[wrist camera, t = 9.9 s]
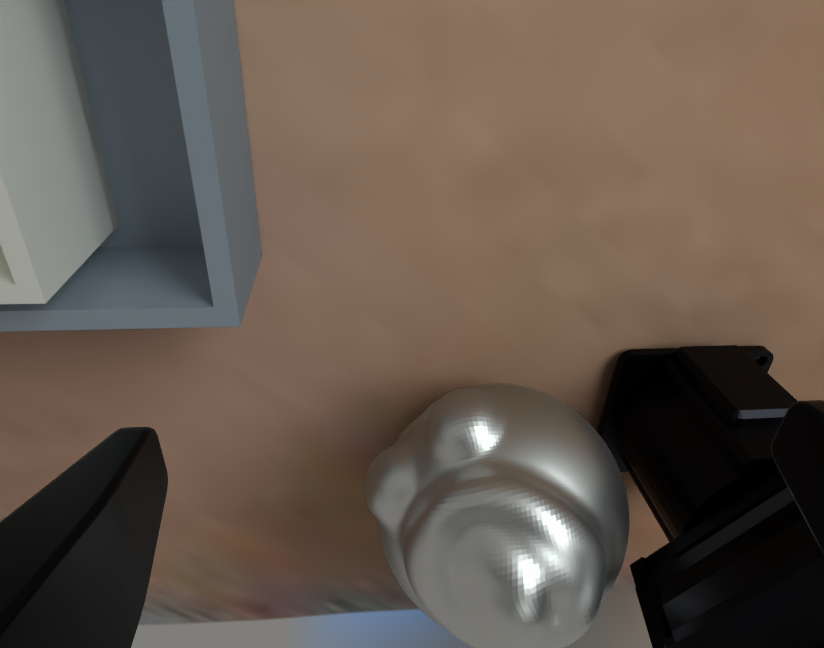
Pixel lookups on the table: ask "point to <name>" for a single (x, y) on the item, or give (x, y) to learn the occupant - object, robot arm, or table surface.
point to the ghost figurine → (502, 516)
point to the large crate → (162, 171)
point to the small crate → (46, 156)
